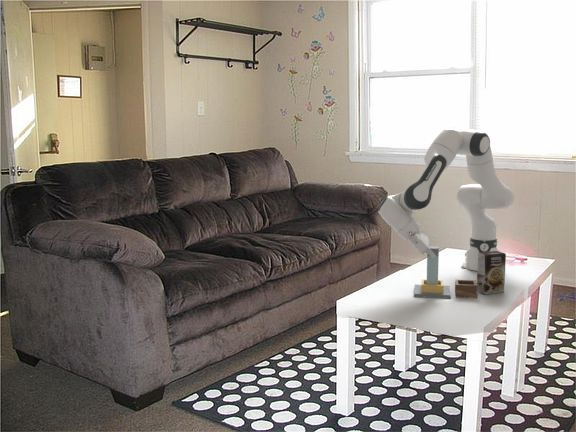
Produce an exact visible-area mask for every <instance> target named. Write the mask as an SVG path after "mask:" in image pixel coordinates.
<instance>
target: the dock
mask: <svg viewBox="0 0 576 432" xmlns="http://www.w3.org/2000/svg"><path fill="white" fill-rule="evenodd" d="M414 296H419V297H418V298H433V297H434V298H436V299H438V298H439V299H451V287H450V285H444V280H443V279H438V285H428V284H427V279H421V284H414V291H413V297H414Z"/></svg>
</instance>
